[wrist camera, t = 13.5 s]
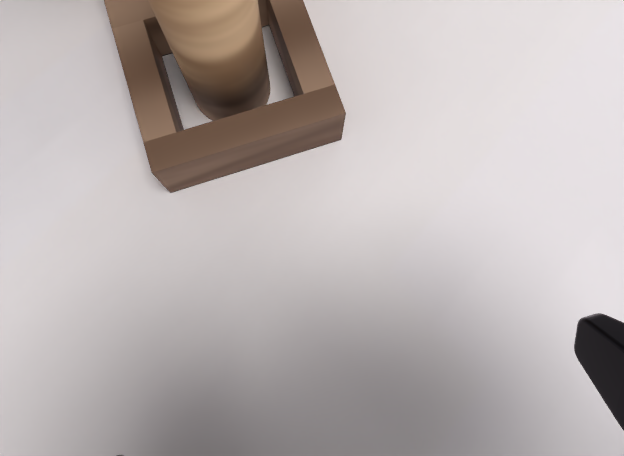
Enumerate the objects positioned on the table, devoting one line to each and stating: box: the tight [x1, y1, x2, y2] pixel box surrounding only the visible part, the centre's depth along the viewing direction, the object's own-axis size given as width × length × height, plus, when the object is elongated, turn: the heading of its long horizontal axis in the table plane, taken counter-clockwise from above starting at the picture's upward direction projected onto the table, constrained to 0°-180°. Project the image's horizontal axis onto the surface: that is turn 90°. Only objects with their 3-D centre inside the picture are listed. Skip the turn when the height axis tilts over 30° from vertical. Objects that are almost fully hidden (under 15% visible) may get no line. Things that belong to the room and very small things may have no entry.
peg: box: [148, 0, 270, 121], centre depth 20 cm, size 4×4×12 cm
